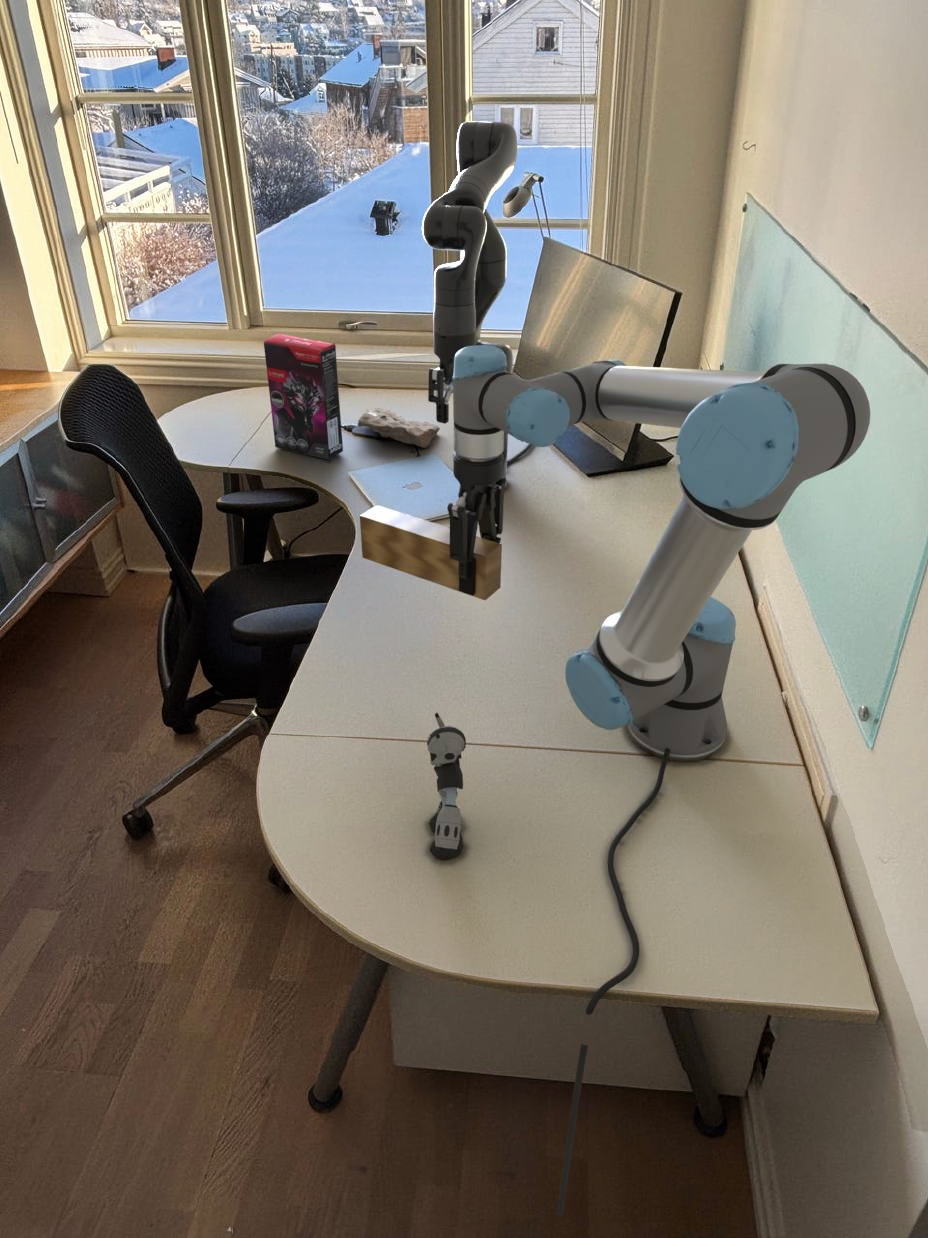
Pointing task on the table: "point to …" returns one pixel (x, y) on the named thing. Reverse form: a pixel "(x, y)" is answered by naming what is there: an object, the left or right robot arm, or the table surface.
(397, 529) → the bar
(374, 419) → the stone
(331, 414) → the graphics card box
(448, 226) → the left robot arm
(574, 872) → the table surface
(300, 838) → the table surface
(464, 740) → the robot
